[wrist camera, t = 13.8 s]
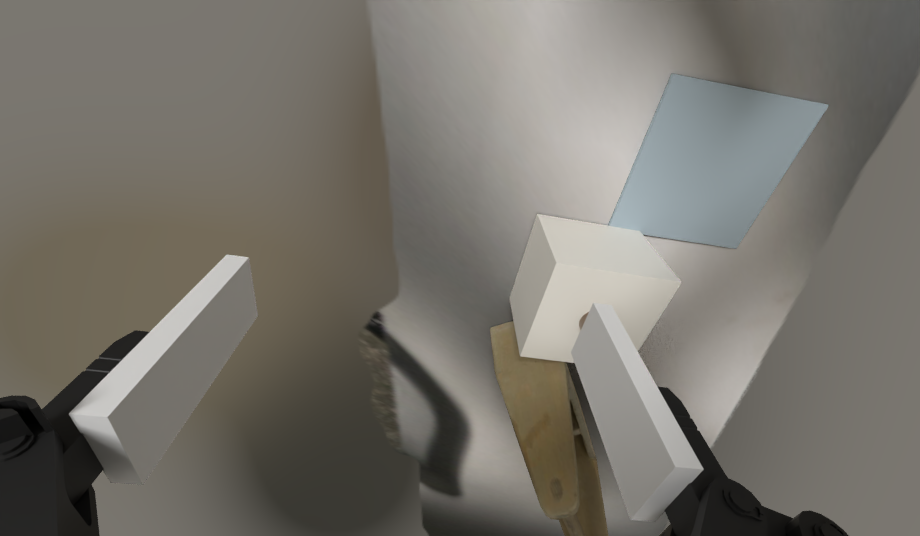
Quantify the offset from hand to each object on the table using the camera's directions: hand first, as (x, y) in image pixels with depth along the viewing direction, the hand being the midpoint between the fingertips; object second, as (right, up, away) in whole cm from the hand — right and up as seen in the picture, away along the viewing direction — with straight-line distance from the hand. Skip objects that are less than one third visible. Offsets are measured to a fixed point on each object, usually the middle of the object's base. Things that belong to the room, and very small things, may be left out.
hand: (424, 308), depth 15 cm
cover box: (+18, +2, +42) cm, 46 cm away
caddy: (+16, -18, +56) cm, 61 cm away
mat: (+34, +14, +35) cm, 51 cm away
